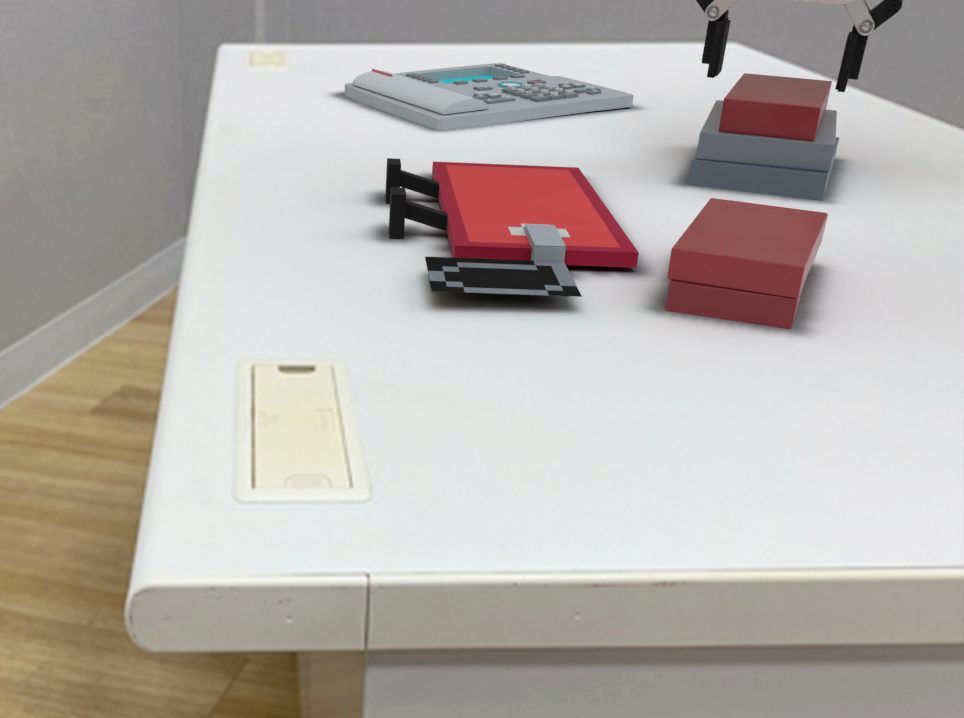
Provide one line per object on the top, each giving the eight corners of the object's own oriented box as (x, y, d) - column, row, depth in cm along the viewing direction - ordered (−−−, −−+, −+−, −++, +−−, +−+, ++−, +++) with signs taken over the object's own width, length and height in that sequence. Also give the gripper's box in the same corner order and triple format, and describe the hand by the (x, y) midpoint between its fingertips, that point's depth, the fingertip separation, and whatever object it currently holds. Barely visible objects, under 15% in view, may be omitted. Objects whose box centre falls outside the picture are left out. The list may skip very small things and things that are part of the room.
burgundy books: (798, 332, 66) (813, 268, 64) (660, 311, 69) (670, 249, 67) (815, 269, 76) (828, 211, 74) (694, 252, 78) (703, 196, 76)
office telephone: (441, 103, 105) (323, 65, 119) (439, 134, 107) (323, 94, 120) (637, 79, 116) (507, 47, 130) (633, 108, 117) (506, 74, 131)
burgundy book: (814, 141, 89) (821, 107, 88) (718, 131, 91) (723, 98, 90) (825, 112, 98) (832, 80, 97) (738, 103, 101) (743, 72, 99)
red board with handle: (396, 306, 67) (662, 316, 68) (399, 256, 66) (670, 266, 66) (383, 178, 93) (576, 186, 93) (384, 140, 91) (580, 148, 92)
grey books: (822, 202, 90) (834, 146, 88) (681, 185, 93) (690, 131, 91) (834, 161, 101) (846, 111, 99) (708, 147, 104) (717, 98, 102)
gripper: (961, -173, 85) (894, 86, 94) (713, -185, 90) (673, 62, 99) (963, -173, 79) (892, 103, 88) (697, -186, 84) (656, 77, 93)
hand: (776, 81), depth 93 cm, fingers open, 9 cm apart
